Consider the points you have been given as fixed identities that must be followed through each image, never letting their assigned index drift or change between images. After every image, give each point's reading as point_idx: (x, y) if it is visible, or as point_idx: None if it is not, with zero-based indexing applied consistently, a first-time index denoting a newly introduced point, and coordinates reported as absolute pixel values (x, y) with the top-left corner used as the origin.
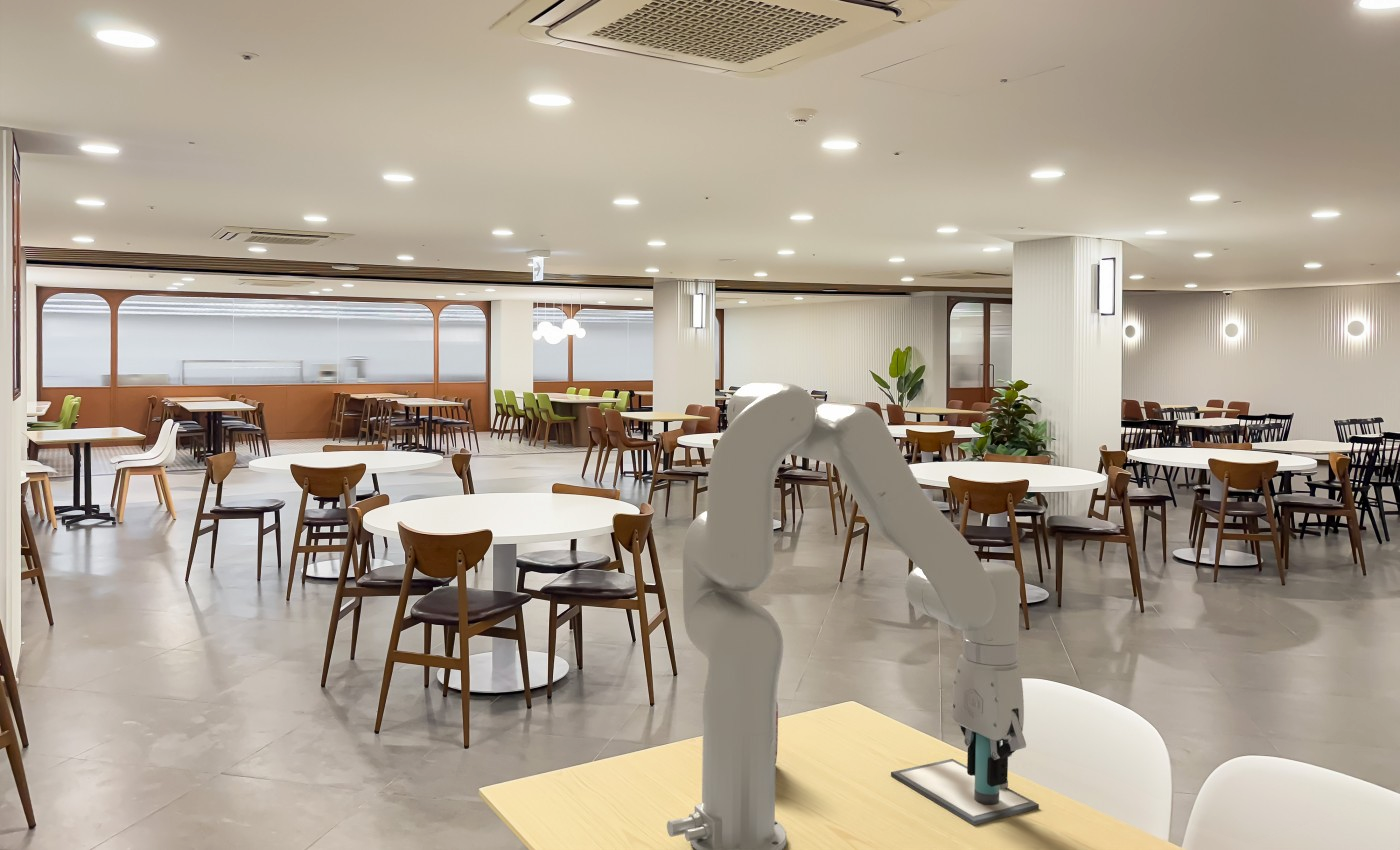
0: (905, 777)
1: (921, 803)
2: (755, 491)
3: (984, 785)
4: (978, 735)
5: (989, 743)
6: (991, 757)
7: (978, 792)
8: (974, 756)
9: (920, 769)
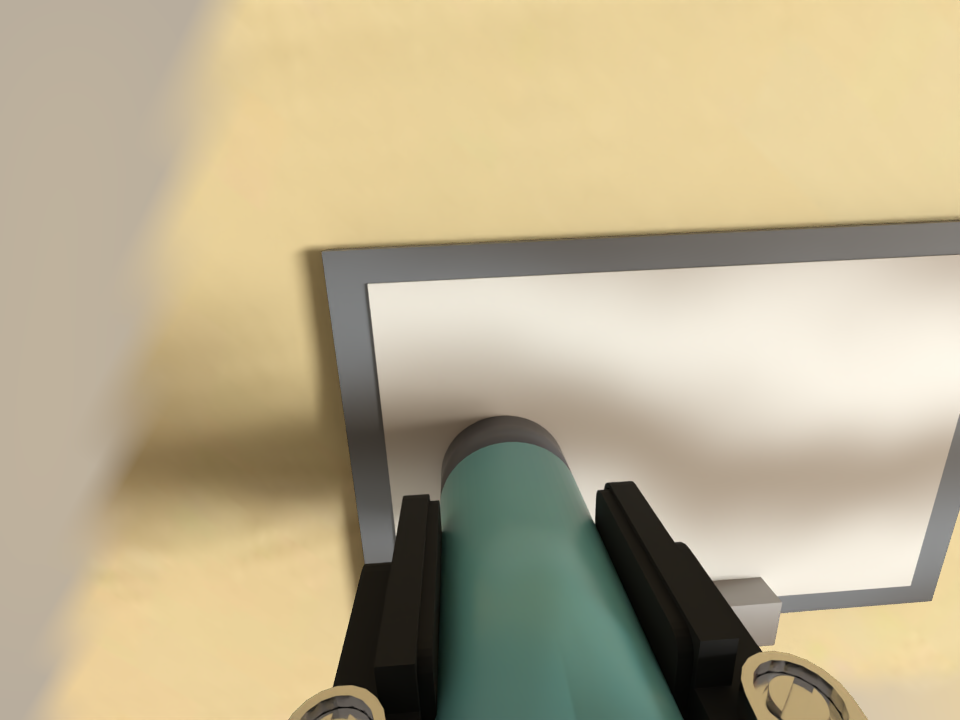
0: (943, 252)
1: (671, 151)
2: None
3: (469, 484)
4: None
5: None
6: (405, 694)
7: (502, 442)
8: (645, 609)
9: (953, 392)
